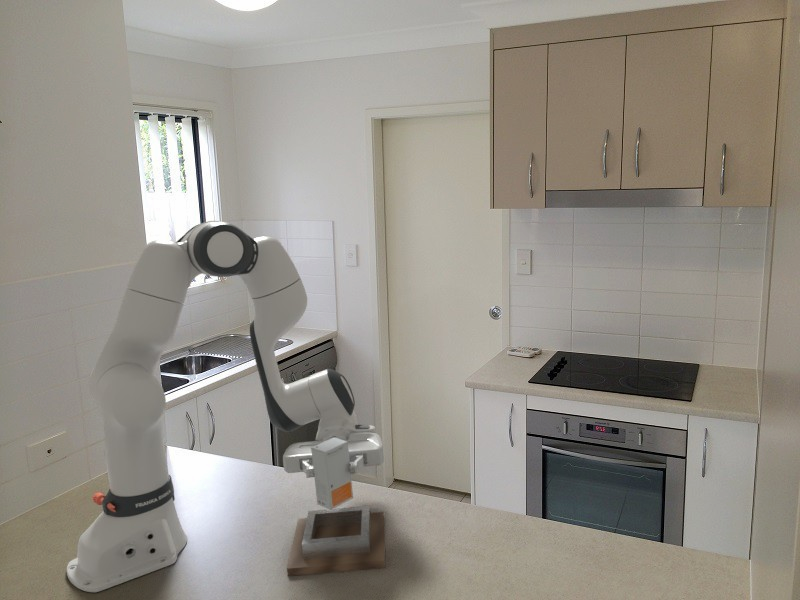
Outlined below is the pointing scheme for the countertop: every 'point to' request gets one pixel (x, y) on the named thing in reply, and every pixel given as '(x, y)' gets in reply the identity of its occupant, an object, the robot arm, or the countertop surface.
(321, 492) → the skincare box
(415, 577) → the countertop surface
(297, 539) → the socket board
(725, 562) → the countertop surface
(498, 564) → the countertop surface
